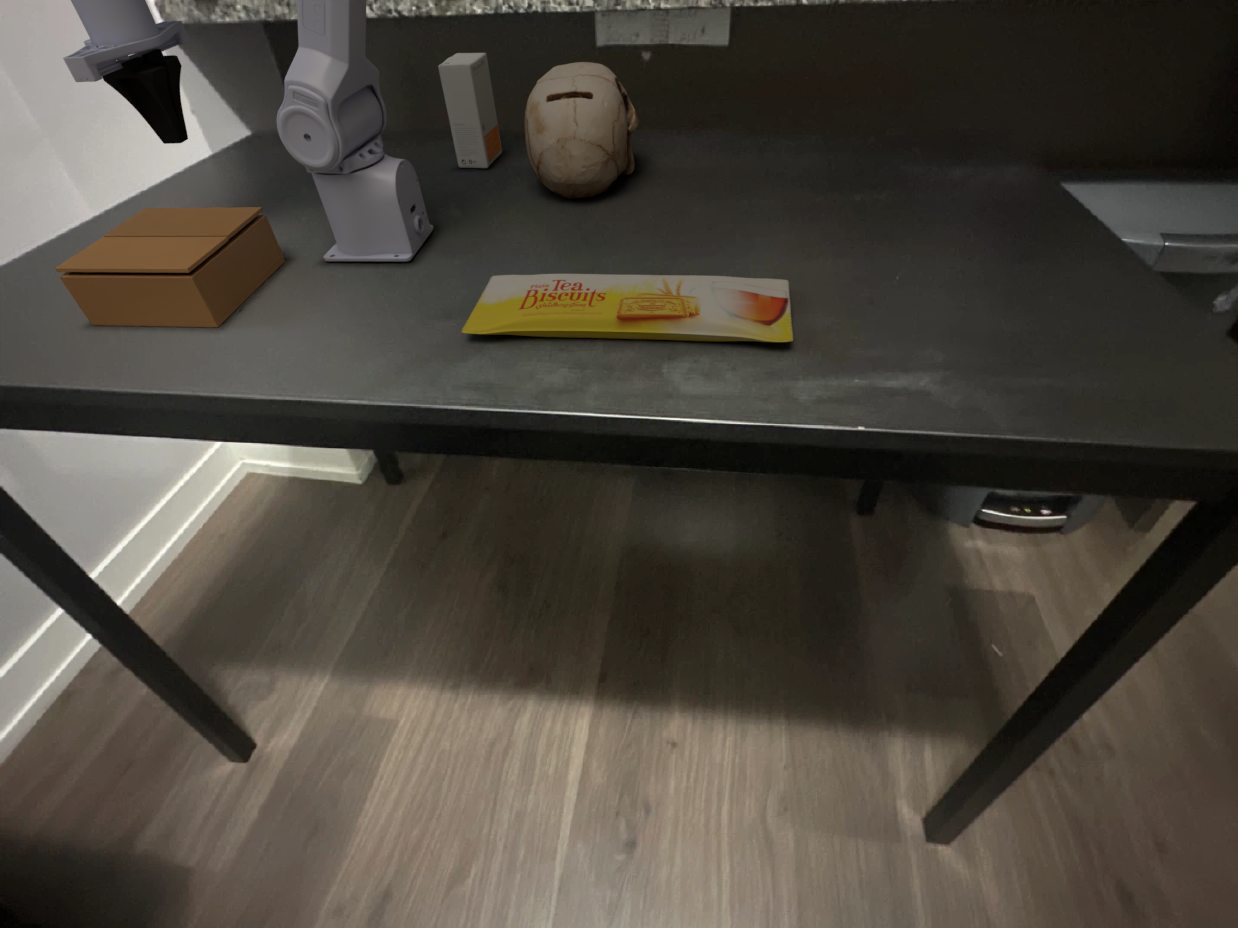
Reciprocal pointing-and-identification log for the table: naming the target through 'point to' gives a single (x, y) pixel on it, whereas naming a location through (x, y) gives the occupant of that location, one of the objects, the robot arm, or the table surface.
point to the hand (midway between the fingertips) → (176, 141)
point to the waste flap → (143, 254)
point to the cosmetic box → (471, 109)
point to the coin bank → (579, 129)
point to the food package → (635, 307)
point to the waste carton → (183, 296)
